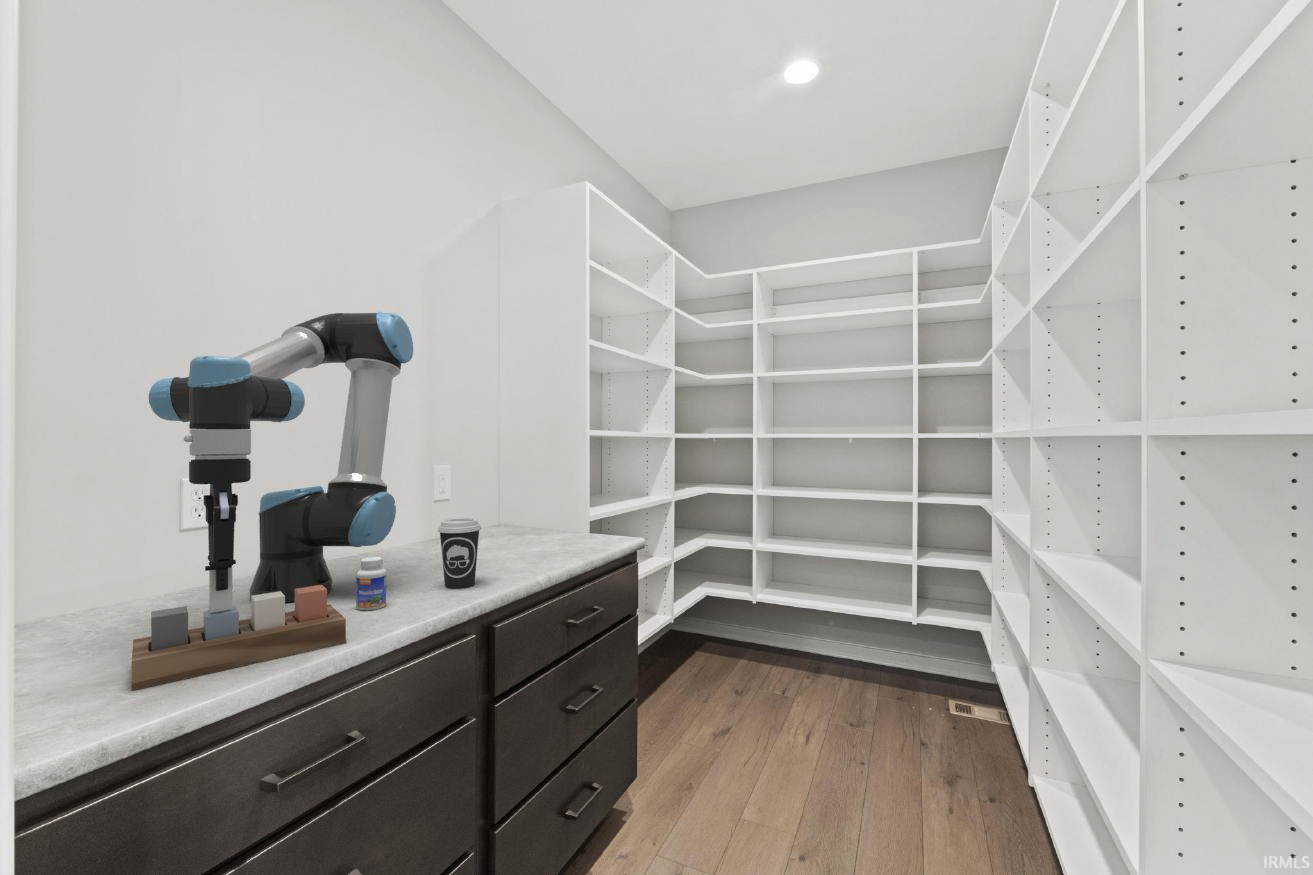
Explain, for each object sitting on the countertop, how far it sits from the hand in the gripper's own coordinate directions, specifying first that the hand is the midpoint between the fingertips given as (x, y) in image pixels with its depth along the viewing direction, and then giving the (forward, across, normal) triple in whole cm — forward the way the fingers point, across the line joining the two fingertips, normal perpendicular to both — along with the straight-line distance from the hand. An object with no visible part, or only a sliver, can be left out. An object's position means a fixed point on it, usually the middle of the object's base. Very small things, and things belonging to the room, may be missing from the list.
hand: (220, 609), depth 86 cm
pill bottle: (+8, -13, +25) cm, 29 cm away
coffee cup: (+8, -17, +45) cm, 49 cm away
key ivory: (+4, 0, +6) cm, 7 cm away
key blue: (+5, 0, 0) cm, 5 cm away
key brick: (+4, 0, +12) cm, 13 cm away
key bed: (+8, 0, +3) cm, 8 cm away
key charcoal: (+4, 0, -6) cm, 7 cm away
